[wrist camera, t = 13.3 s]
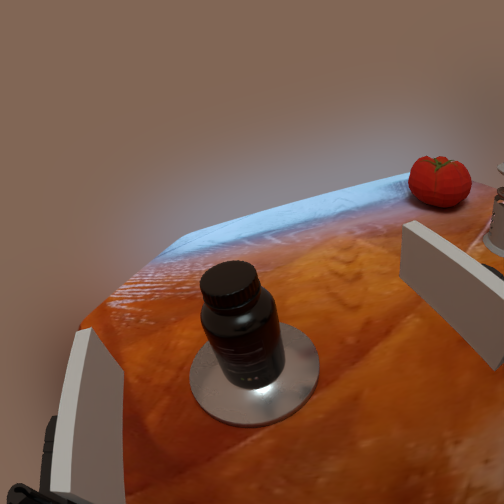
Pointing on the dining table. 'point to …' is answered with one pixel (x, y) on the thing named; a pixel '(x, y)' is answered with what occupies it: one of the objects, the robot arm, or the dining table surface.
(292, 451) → the dining table surface
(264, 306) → the supplement bottle
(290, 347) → the hub disc
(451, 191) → the tomato
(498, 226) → the french press
